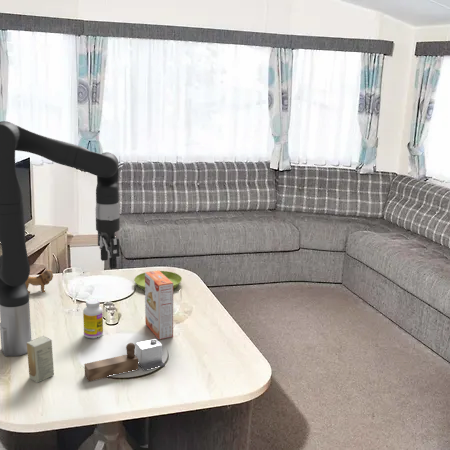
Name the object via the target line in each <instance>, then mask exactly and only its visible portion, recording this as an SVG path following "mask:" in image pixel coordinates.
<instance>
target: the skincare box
mask: <svg viewBox="0 0 450 450" xmlns="http://www.w3.org/2000/svg"><path fill="white" fill-rule="evenodd" d="M31 340H32V341H29V342H27V353H26V354H27V364H28V377H29V379H30V380H32V381H33V382H35V383H37V384H38V383H39V382H42V381H44V380H47V379H49V378H51V377H53V376H54V375H55V372H54V371H55V368H54V355H53V354H54V353H53V340H52V339H51V338H49V337H47V336H45V335H42V336H39V337H37V338H34V339H31Z"/></svg>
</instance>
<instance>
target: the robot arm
mask: <svg viewBox="0 0 450 450" xmlns="http://www.w3.org/2000/svg"><path fill="white" fill-rule="evenodd" d="M16 151H17V152H25V153H30V154H33V155H37V156H40V157H42V158H44V159H47V160H49V161H50V162H54V163H56V164H59V165H62V166H66V167H69V168H74V169H78V170H81V171H84V172H86V173H88V174H91V175H94V176H96V181H97V182H96V183H97V184H96V189H95V231H97V246H98V247H99V250H100V260H101V261H102V262H103V261H108V264H109V265H108V266H109V269H113V270H114V269H116V268H117V267H118V266H117V265H118V264H117V258H118V257H120V239H119V237H116V235H115V234H116V233H117V232H119V231H120V229H121V223H120V222H121V220H120V219H121V216H120V211H121V209H120V204H119V202H120V201H119V200H120V199H119V197H120V196H119V193H120V192H119V166H120V165H119V160H118V158H117V156H116V155H115V154H114V153H112V152H108V151H106V152H103V153H98V152H96V151H91V150H89V149H88V148H86V147H85V146H82V145H77V144H74V143H71V142H66V141H63V140H58V139H54V138H50V137H48V136H44V135H41V134H38V133H35V132H33V131H31V130H28V129H25V128H23V127H22V126H19V125H17V124H15V123H13V122H10V121H7V120H3V121H0V245H1V255H0V346H1V347H0V349H1V351H2V354H3V356H4V357H7V356H9V357H10V356H11V357H18V356H23V355H26V354H28V353H27V342H29V341H32V340H33V339H32V326H31V324H32V323H31V310H30V309H31V308H30V306H31V305H30V293H28V291H29V290H27V288H26V284H25V282H26V281H27V279H28V277H29V276H30V275H31V267H30V261H29V257H28V256H29V255H28V251H27V245H26V223H25V221H26V219H25V202H24V194H23V189H22V186H21V184H20V181H19V178H18V175H17V170H16V169H17V168H16Z"/></svg>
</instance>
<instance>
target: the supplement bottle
mask: <svg viewBox="0 0 450 450" xmlns="http://www.w3.org/2000/svg"><path fill="white" fill-rule="evenodd" d="M100 302H101V301H100V300H99V299H97V298H90V299H87V300H86V301H85V306H86V307H84V309H83V310H82V314H83V318H82V319H83V335H84V337H85V338H88V339H98V338H100V337H102V336H103V334H104V319H103V317H104V315H103V314H104V312H103V308H102V307H101V306H100ZM97 337H98V338H97Z"/></svg>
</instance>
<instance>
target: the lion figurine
mask: <svg viewBox="0 0 450 450" xmlns="http://www.w3.org/2000/svg"><path fill="white" fill-rule="evenodd" d="M53 278H54V274H53V270H51V269H46V270H44V271H43V272H42V273H40V274H39V275H37V276H30V275H29V277H28V279H27V281H26V282H25V284H26V288H27V290H28V289H29V285H32V286H36V287H37V286H40V291H42V293H43V292H45V291H46V290H44V289H45V286H47V285H49V283H50V282H51V281H52V280H53ZM28 293H29V294H31V291H29V290H28ZM45 293H46V292H45Z"/></svg>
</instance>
